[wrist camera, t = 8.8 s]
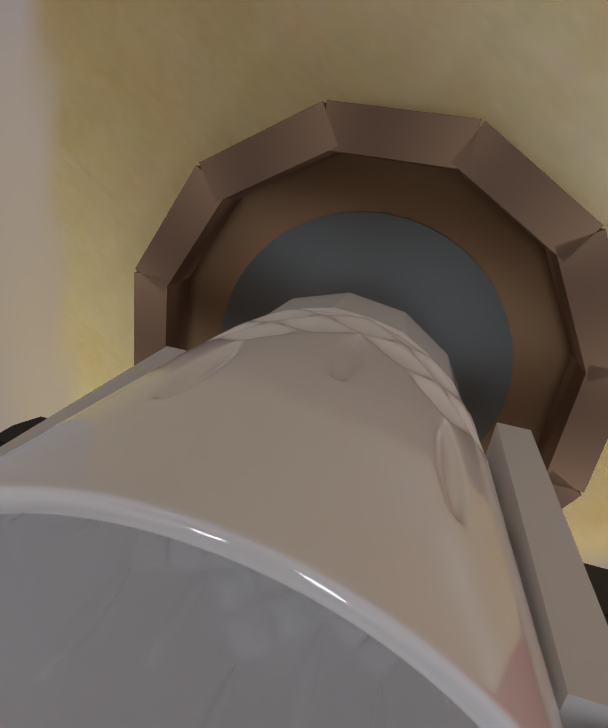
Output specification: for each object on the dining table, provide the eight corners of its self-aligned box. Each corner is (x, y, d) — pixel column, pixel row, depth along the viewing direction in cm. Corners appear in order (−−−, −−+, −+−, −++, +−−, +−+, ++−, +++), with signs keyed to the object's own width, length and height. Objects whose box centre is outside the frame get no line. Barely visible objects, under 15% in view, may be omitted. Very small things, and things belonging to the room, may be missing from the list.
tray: (178, 88, 16) (131, 72, 14) (684, 153, 14) (741, 146, 11) (166, 470, 22) (131, 507, 20) (516, 568, 20) (528, 626, 17)
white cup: (188, 464, 16) (-141, 841, 7) (244, 227, 13) (-237, 335, 4) (419, 560, 15) (396, 1152, 6) (540, 330, 12) (909, 832, 3)
